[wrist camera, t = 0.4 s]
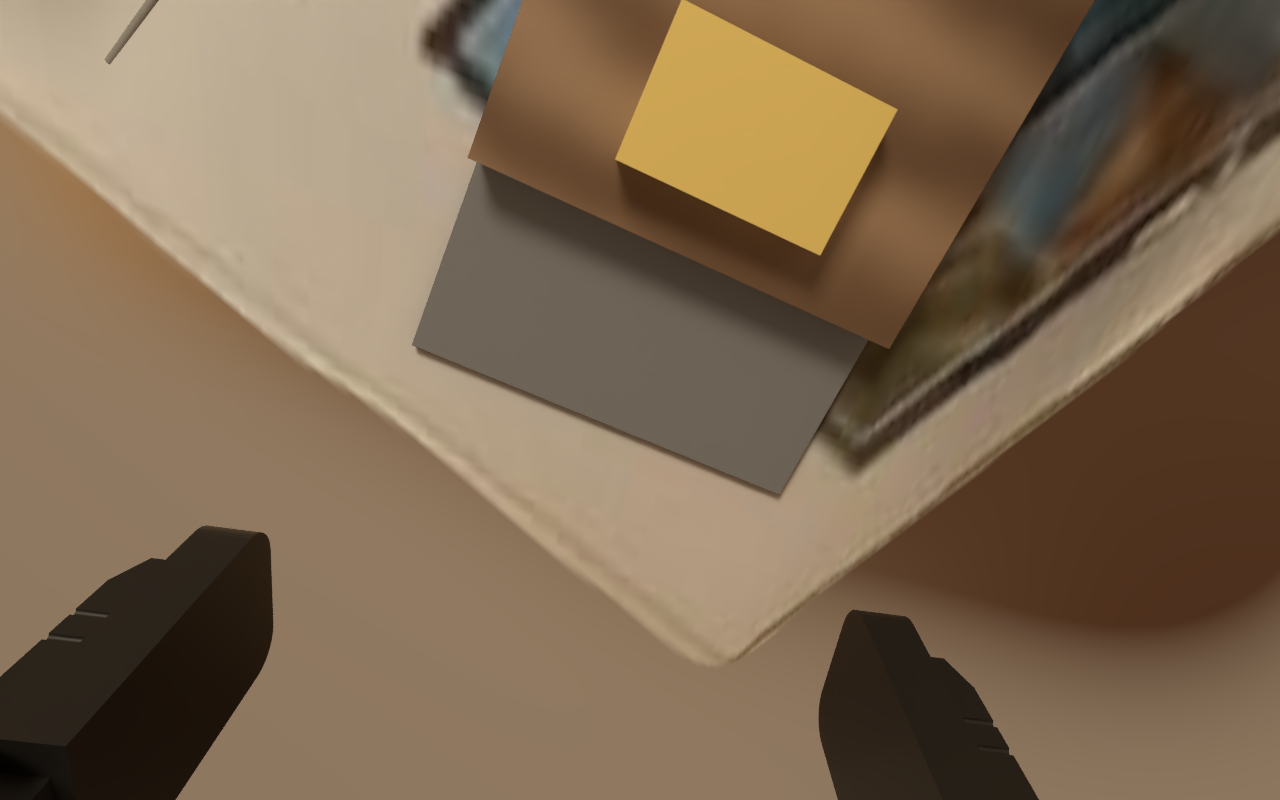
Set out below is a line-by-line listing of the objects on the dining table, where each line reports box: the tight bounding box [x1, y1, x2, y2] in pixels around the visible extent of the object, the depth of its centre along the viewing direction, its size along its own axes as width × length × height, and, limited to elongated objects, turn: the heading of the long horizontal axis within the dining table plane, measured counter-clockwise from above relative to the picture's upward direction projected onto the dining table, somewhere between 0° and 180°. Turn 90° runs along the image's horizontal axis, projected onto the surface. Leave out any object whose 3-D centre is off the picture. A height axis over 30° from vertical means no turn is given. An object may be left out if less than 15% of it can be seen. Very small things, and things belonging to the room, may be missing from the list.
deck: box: [468, 0, 1095, 349], centre depth 30 cm, size 16×20×3 cm
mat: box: [412, 162, 868, 494], centre depth 36 cm, size 9×20×1 cm, turn 66°
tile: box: [615, 0, 898, 255], centre depth 29 cm, size 6×9×2 cm, turn 66°
